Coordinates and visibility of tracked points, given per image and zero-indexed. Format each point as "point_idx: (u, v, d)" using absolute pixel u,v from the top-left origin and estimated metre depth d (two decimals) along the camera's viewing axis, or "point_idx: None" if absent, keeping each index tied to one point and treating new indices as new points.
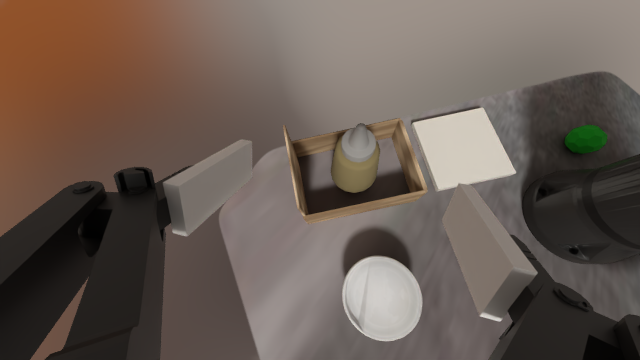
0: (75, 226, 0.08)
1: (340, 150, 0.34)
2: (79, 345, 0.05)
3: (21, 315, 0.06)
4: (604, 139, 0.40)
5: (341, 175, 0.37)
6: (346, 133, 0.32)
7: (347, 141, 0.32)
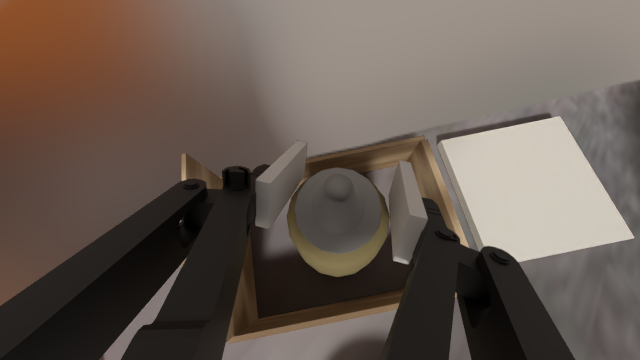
0: (177, 220, 0.09)
1: None
2: (164, 324, 0.05)
3: (121, 294, 0.07)
4: None
5: (306, 260, 0.17)
6: (308, 183, 0.13)
7: (309, 204, 0.13)
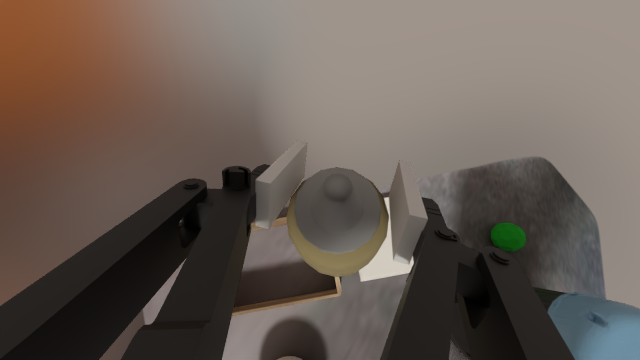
0: (177, 220, 0.09)
1: None
2: (164, 324, 0.05)
3: (121, 294, 0.07)
4: (522, 242, 0.40)
5: (306, 260, 0.17)
6: (308, 183, 0.13)
7: (309, 204, 0.13)
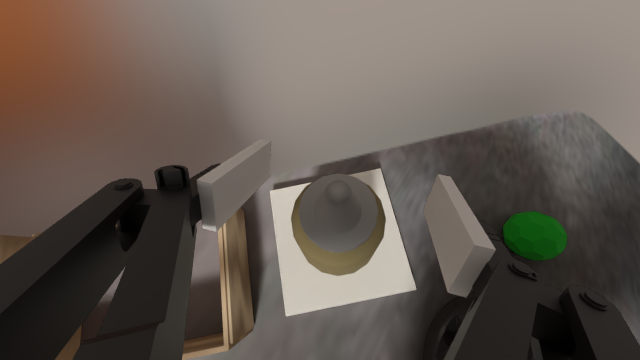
0: (113, 222, 0.08)
1: None
2: (110, 335, 0.05)
3: (59, 305, 0.07)
4: (561, 244, 0.23)
5: (308, 259, 0.18)
6: (311, 188, 0.14)
7: (312, 207, 0.14)
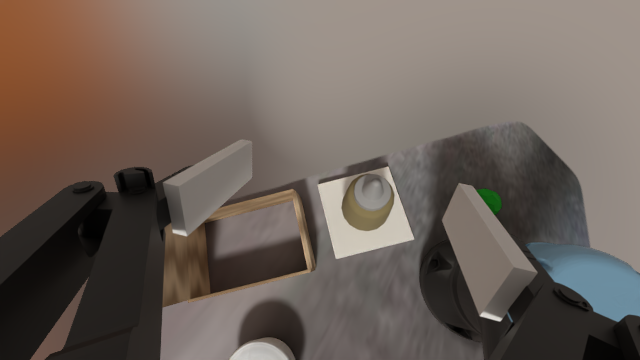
0: (75, 226, 0.08)
1: (352, 197, 0.32)
2: (79, 345, 0.05)
3: (21, 315, 0.06)
4: (497, 206, 0.39)
5: (354, 219, 0.35)
6: (359, 181, 0.31)
7: (360, 190, 0.30)
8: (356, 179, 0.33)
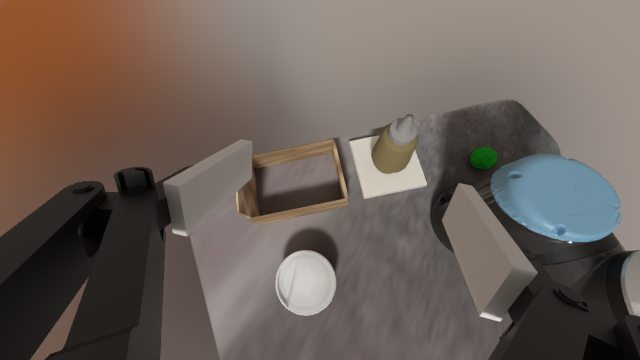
0: (75, 226, 0.08)
1: (386, 136, 0.43)
2: (79, 345, 0.05)
3: (21, 315, 0.06)
4: (494, 158, 0.50)
5: (385, 157, 0.45)
6: (393, 122, 0.41)
7: (394, 128, 0.41)
8: (389, 125, 0.44)
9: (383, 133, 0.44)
